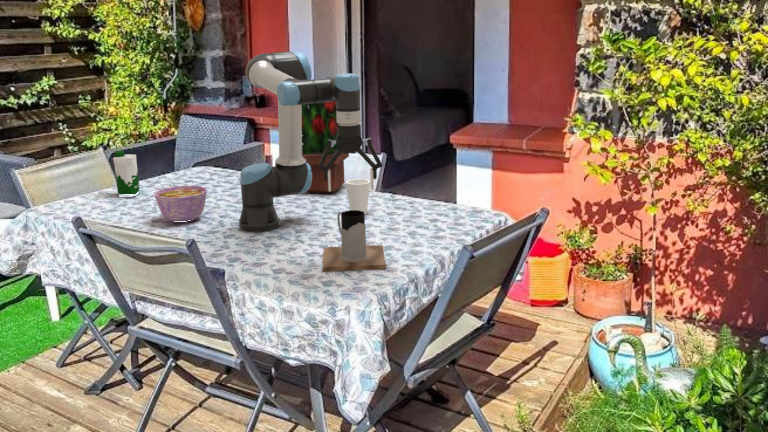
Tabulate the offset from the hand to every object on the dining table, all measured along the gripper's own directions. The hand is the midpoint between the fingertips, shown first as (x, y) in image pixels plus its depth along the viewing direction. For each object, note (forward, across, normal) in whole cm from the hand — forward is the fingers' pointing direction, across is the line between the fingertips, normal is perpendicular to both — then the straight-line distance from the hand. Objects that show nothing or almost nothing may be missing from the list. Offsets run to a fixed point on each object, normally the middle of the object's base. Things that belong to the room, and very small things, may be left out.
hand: (351, 189), depth 250 cm
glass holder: (+22, -1, 0) cm, 22 cm away
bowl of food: (+24, -66, +56) cm, 90 cm away
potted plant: (+24, -12, +96) cm, 99 cm away
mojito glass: (+24, -98, +99) cm, 141 cm away
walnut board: (+24, 0, 0) cm, 24 cm away
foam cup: (+24, +3, +56) cm, 61 cm away
